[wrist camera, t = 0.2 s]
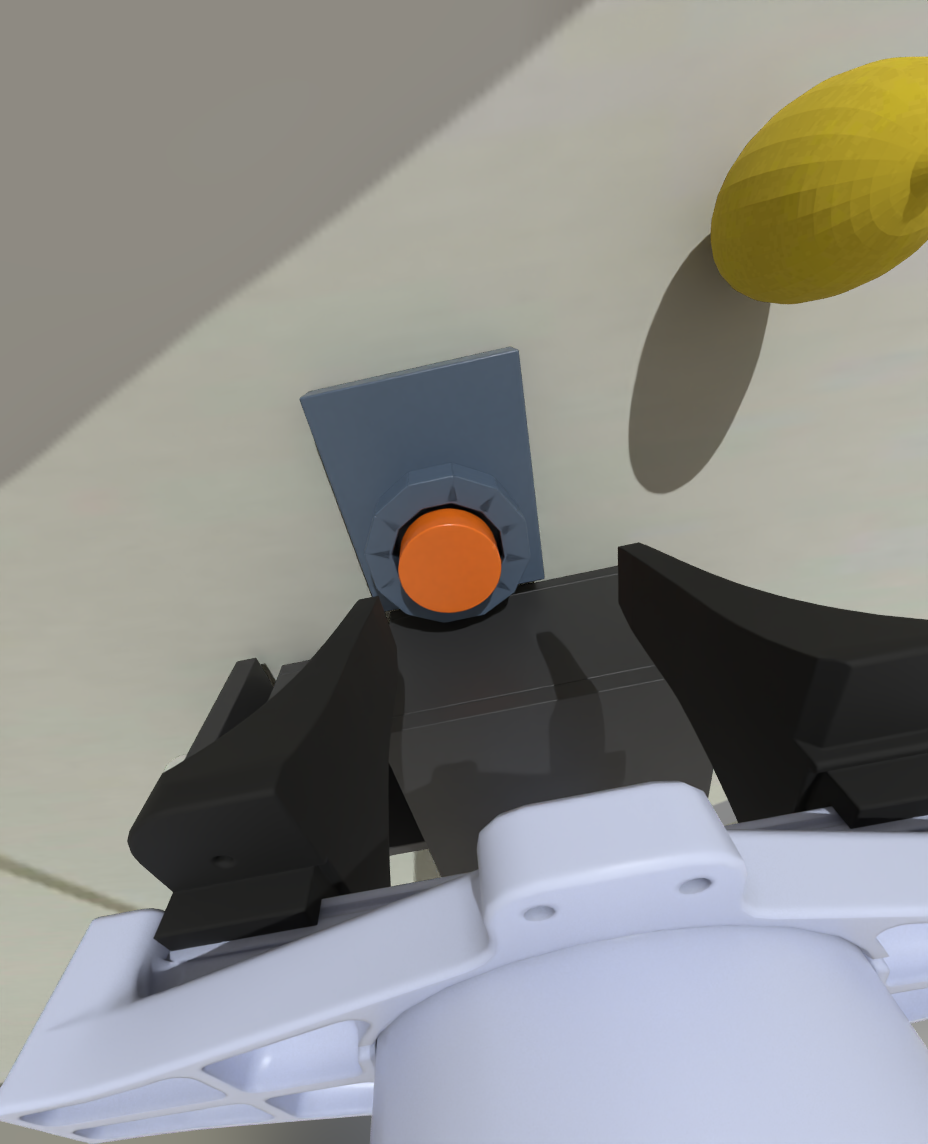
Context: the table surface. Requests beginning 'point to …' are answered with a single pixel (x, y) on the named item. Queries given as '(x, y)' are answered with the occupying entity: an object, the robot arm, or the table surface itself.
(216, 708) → the drawer
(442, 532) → the button
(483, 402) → the panel
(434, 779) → the charcoal grey box
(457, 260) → the table surface
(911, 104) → the lemon
